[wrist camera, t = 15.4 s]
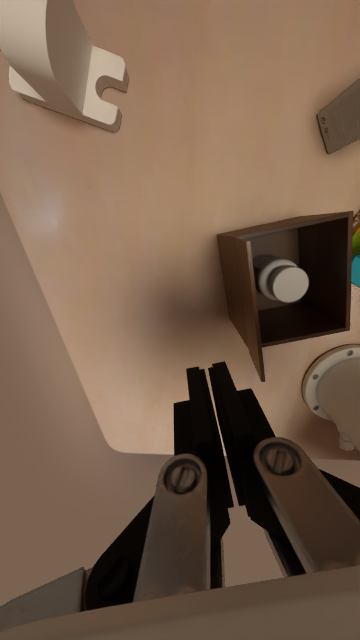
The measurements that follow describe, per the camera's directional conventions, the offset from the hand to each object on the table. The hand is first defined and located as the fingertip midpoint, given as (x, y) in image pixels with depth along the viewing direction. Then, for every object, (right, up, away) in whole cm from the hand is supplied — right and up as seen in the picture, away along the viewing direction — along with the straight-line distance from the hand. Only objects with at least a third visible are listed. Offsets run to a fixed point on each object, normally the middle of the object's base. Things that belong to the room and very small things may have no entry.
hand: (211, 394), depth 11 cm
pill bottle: (+9, +9, +20) cm, 24 cm away
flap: (+4, +4, +9) cm, 11 cm away
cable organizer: (-12, +26, +14) cm, 32 cm away
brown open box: (+9, +9, +21) cm, 24 cm away
